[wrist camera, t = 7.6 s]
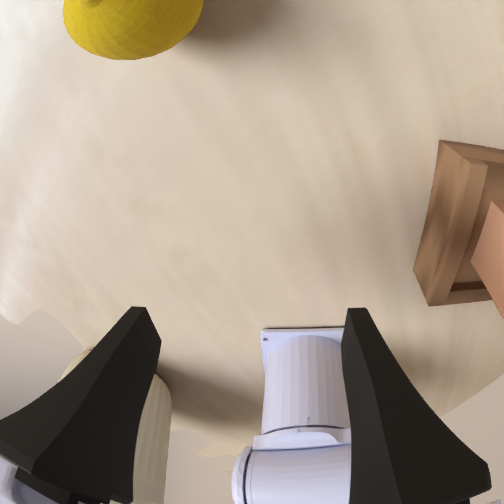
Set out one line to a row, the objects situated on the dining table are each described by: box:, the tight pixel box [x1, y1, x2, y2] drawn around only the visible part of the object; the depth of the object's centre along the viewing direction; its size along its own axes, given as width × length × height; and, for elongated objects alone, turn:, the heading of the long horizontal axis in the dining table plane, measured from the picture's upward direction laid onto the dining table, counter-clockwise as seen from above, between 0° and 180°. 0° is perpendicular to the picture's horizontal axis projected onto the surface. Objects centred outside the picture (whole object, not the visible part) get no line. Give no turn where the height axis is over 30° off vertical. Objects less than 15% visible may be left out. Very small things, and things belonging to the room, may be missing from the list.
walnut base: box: [413, 140, 504, 306], centre depth 16 cm, size 10×10×4 cm
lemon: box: [63, 0, 204, 60], centre depth 9 cm, size 6×6×8 cm
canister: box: [57, 350, 172, 504], centre depth 26 cm, size 18×18×21 cm
